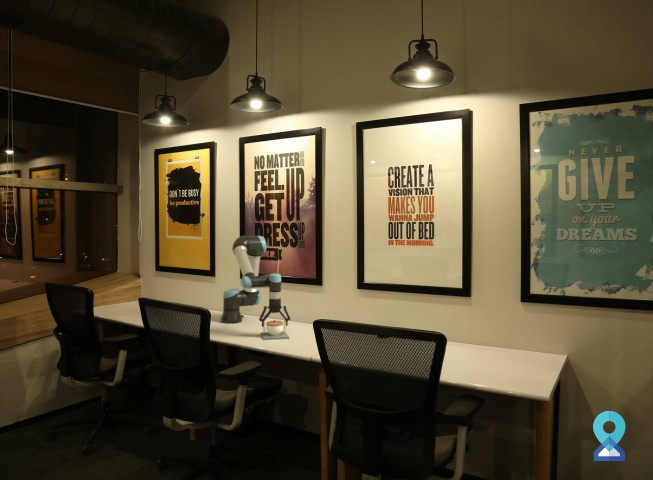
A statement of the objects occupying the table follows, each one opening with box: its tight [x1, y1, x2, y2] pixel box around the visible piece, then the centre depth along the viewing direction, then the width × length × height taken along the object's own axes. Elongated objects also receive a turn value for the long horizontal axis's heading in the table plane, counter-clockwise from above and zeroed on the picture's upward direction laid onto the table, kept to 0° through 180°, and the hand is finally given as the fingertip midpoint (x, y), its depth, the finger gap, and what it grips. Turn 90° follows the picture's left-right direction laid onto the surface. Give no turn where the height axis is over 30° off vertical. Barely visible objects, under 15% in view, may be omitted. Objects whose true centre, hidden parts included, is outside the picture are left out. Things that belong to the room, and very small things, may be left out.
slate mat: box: [260, 330, 290, 341], centre depth 305 cm, size 16×16×1 cm
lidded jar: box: [265, 319, 284, 336], centre depth 304 cm, size 11×11×9 cm
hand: (274, 331), depth 304 cm, fingers open, 13 cm apart
